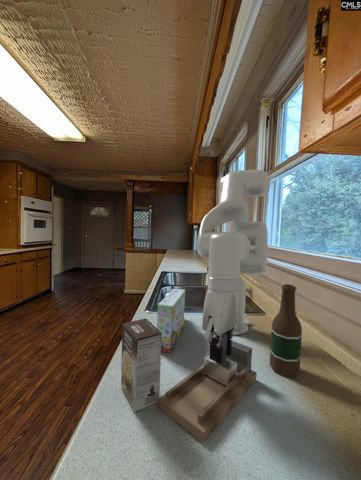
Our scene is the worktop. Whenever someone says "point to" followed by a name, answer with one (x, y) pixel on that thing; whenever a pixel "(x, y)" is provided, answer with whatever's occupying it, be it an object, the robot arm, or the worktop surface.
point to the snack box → (171, 318)
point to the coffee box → (141, 363)
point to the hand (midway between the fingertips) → (220, 356)
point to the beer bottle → (286, 336)
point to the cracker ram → (221, 365)
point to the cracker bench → (208, 395)
